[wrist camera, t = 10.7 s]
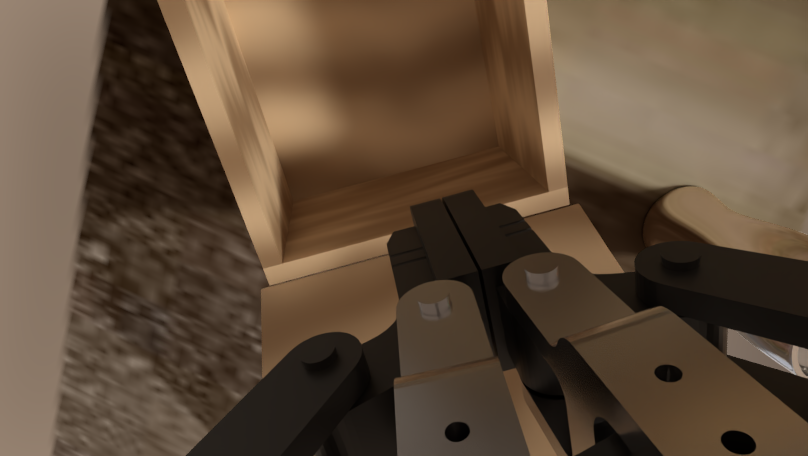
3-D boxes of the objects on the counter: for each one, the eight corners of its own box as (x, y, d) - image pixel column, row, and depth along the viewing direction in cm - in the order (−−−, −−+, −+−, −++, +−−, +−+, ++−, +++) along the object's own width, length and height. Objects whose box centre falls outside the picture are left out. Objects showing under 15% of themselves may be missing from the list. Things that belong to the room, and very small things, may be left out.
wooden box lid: (267, 733, 16) (274, 733, 16) (821, 574, 16) (814, 579, 17) (260, 289, 28) (265, 296, 28) (578, 203, 28) (578, 211, 28)
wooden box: (189, -42, 30) (128, -58, 21) (469, -114, 30) (528, -160, 21) (281, 214, 37) (266, 286, 28) (510, 152, 37) (569, 204, 28)
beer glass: (620, 252, 41) (763, 379, 28) (664, 168, 39) (844, 262, 25) (694, 273, 43) (863, 403, 29) (740, 194, 41) (947, 294, 27)
